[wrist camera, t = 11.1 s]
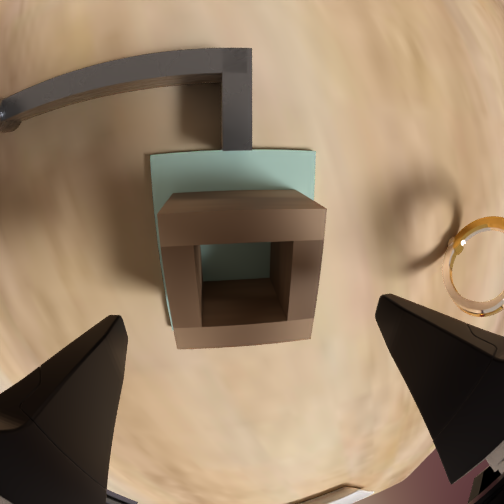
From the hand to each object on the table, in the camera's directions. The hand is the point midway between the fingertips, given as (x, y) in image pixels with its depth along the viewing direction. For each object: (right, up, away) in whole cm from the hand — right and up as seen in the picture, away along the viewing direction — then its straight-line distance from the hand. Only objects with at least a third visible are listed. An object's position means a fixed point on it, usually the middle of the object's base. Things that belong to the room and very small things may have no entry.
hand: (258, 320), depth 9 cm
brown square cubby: (-1, +2, +5) cm, 6 cm away
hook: (-8, +9, +2) cm, 12 cm away
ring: (+15, +3, +8) cm, 17 cm away
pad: (-1, +2, +6) cm, 6 cm away
